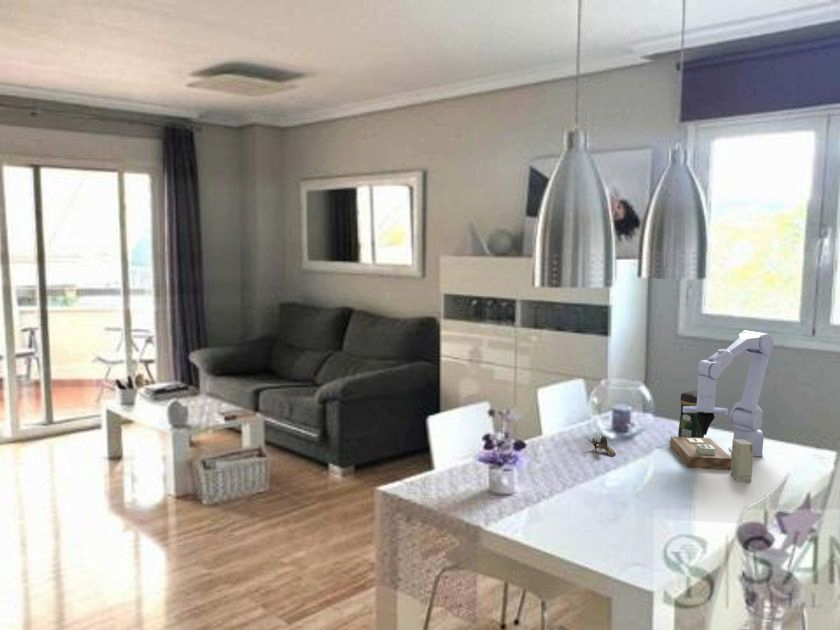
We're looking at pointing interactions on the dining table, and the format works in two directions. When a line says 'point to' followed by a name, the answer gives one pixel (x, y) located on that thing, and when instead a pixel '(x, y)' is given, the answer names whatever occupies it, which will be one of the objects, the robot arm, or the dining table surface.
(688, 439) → the cream button
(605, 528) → the dining table surface
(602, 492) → the dining table surface
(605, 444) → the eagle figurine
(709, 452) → the sage button
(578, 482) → the dining table surface
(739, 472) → the skincare box
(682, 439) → the board
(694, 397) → the coffee jar
